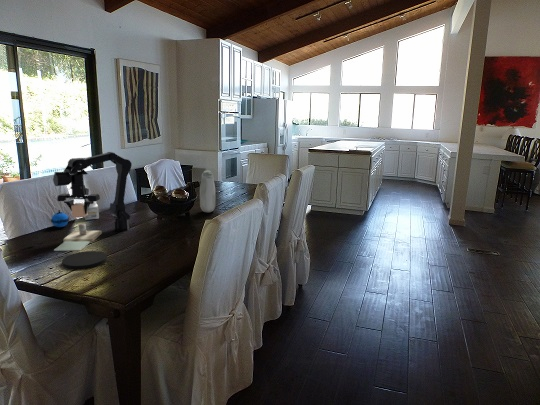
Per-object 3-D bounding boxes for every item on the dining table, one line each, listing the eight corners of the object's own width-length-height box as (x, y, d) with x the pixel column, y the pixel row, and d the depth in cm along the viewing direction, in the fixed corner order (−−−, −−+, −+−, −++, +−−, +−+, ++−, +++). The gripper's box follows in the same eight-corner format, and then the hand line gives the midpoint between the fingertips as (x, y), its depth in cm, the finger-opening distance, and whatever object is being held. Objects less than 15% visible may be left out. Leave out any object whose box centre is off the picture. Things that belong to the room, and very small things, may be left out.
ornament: (52, 225, 219) (51, 208, 217) (69, 224, 222) (68, 207, 220) (51, 229, 211) (49, 212, 209) (68, 228, 215) (67, 211, 213)
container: (85, 219, 232) (83, 198, 229) (84, 216, 239) (82, 196, 236) (99, 218, 236) (97, 197, 233) (98, 215, 242) (96, 195, 240)
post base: (101, 233, 208) (100, 220, 206) (92, 241, 194) (91, 228, 193) (74, 233, 207) (73, 220, 205) (63, 241, 193) (62, 228, 191)
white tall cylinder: (214, 214, 253) (213, 171, 247) (198, 213, 253) (198, 171, 247) (216, 210, 263) (216, 169, 256) (201, 210, 263) (201, 169, 257)
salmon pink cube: (83, 217, 194) (82, 205, 193) (72, 217, 194) (71, 205, 192) (88, 214, 200) (87, 203, 198) (76, 214, 199) (75, 203, 198)
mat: (89, 242, 193) (89, 241, 193) (80, 250, 182) (80, 249, 182) (64, 242, 192) (64, 241, 192) (54, 250, 180) (53, 249, 180)
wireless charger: (60, 272, 157) (60, 268, 157) (64, 257, 173) (63, 253, 173) (107, 267, 164) (107, 262, 164) (107, 253, 180) (106, 249, 180)
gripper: (102, 181, 202) (104, 210, 205) (65, 180, 200) (67, 210, 203) (94, 185, 191) (97, 215, 194) (55, 184, 189) (58, 215, 192)
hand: (80, 214), depth 196 cm, fingers closed on salmon pink cube, 6 cm apart
